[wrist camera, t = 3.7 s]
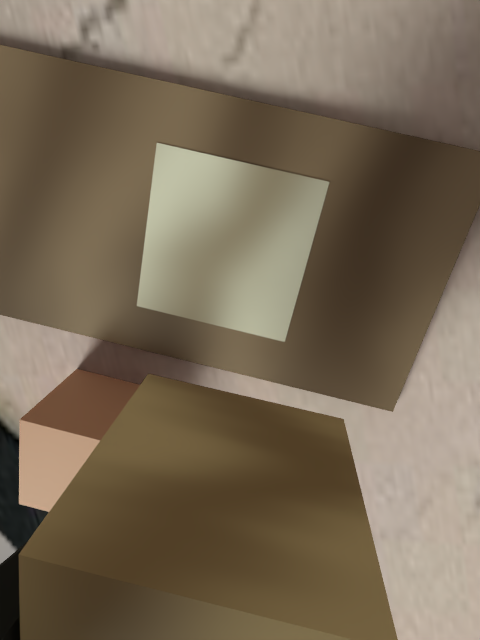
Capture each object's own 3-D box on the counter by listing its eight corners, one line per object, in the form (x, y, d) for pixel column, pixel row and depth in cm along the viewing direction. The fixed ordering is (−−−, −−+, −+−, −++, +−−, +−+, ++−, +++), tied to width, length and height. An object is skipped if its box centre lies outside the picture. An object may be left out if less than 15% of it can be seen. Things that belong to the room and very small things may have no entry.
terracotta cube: (163, 389, 19) (128, 447, 15) (151, 459, 21) (117, 529, 17) (77, 368, 19) (19, 419, 15) (72, 439, 21) (19, 504, 17)
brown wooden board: (493, 156, 14) (501, 155, 14) (389, 405, 18) (392, 412, 17) (-22, 42, 15) (-33, 37, 14) (-15, 306, 19) (-23, 309, 18)
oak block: (343, 418, 9) (400, 650, 5) (278, 603, 12) (274, 876, 7) (148, 373, 10) (18, 555, 5) (124, 564, 12) (23, 805, 7)
